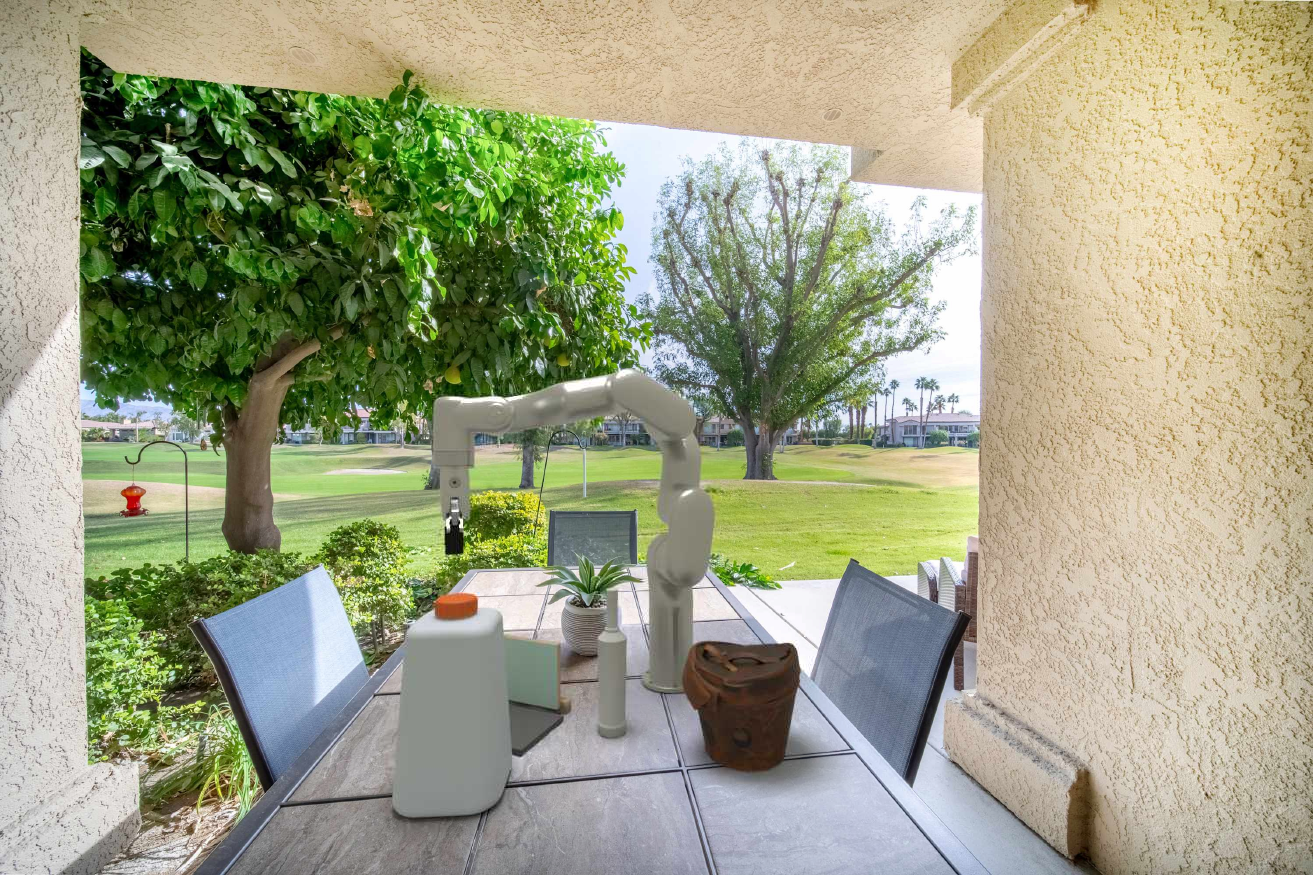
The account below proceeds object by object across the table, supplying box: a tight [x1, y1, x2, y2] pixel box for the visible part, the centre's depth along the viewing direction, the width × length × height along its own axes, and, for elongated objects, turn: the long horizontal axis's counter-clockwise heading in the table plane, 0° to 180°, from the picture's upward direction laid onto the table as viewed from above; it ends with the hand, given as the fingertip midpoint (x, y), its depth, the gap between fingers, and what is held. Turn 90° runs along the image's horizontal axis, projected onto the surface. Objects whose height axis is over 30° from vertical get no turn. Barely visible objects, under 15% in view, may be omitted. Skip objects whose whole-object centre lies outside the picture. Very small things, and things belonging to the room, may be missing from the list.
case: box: [682, 640, 802, 772], centre depth 94 cm, size 18×20×18 cm
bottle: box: [597, 587, 628, 739], centre depth 101 cm, size 5×5×25 cm
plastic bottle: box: [391, 592, 513, 819], centre depth 84 cm, size 15×15×28 cm
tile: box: [504, 634, 562, 710], centre depth 110 cm, size 1×14×12 cm, turn 67°
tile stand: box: [508, 696, 572, 715], centre depth 111 cm, size 16×3×2 cm, turn 68°
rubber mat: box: [509, 705, 564, 757], centre depth 102 cm, size 18×13×1 cm
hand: (453, 549), depth 110 cm, fingers open, 9 cm apart
